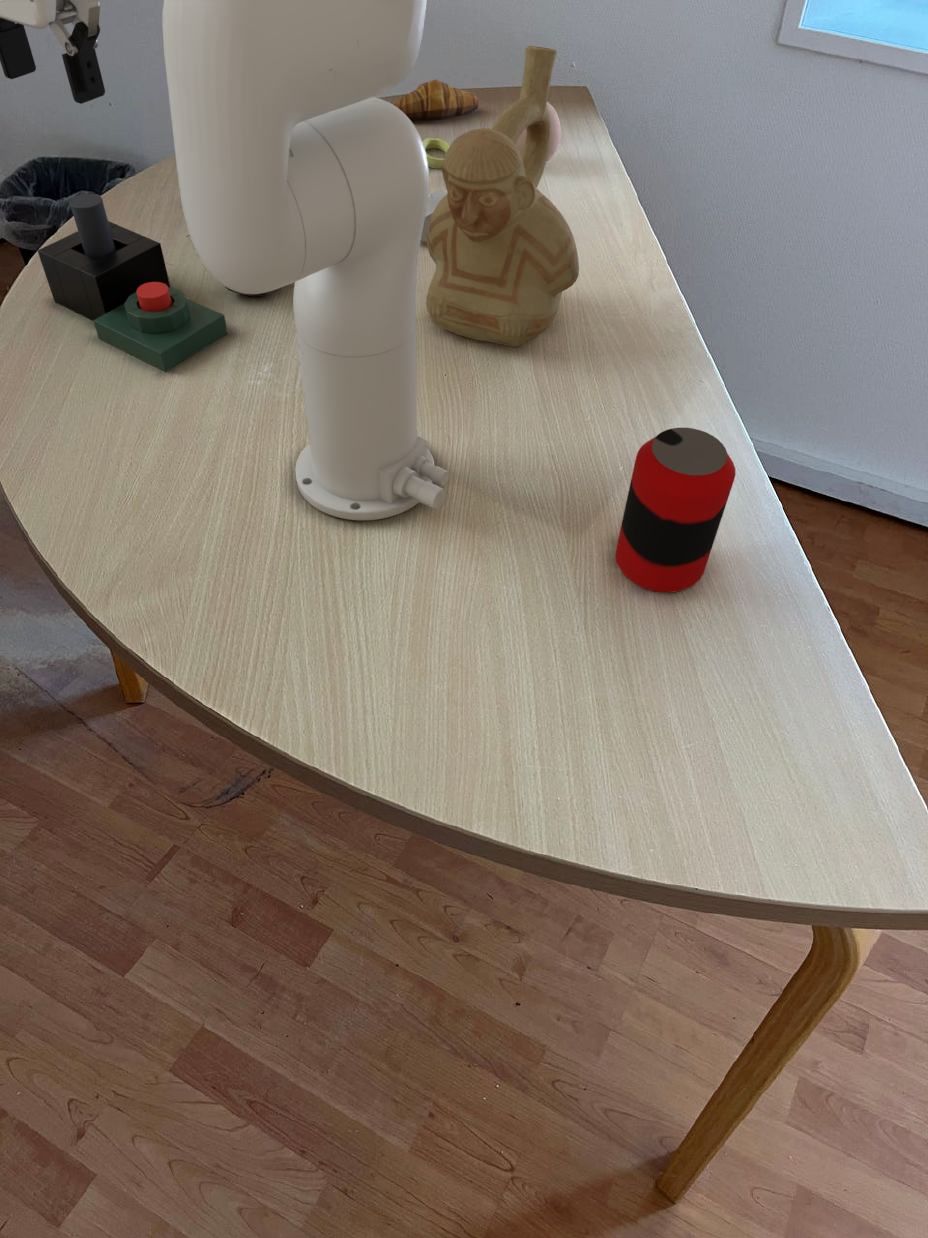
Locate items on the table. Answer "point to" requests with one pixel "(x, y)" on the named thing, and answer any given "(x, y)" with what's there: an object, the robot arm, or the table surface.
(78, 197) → the soldering iron
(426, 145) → the yellow-green curved piece
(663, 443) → the soda can
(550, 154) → the egg
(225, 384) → the table surface
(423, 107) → the croissant
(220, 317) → the station
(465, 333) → the ceramic vessel
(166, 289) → the power button
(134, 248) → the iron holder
